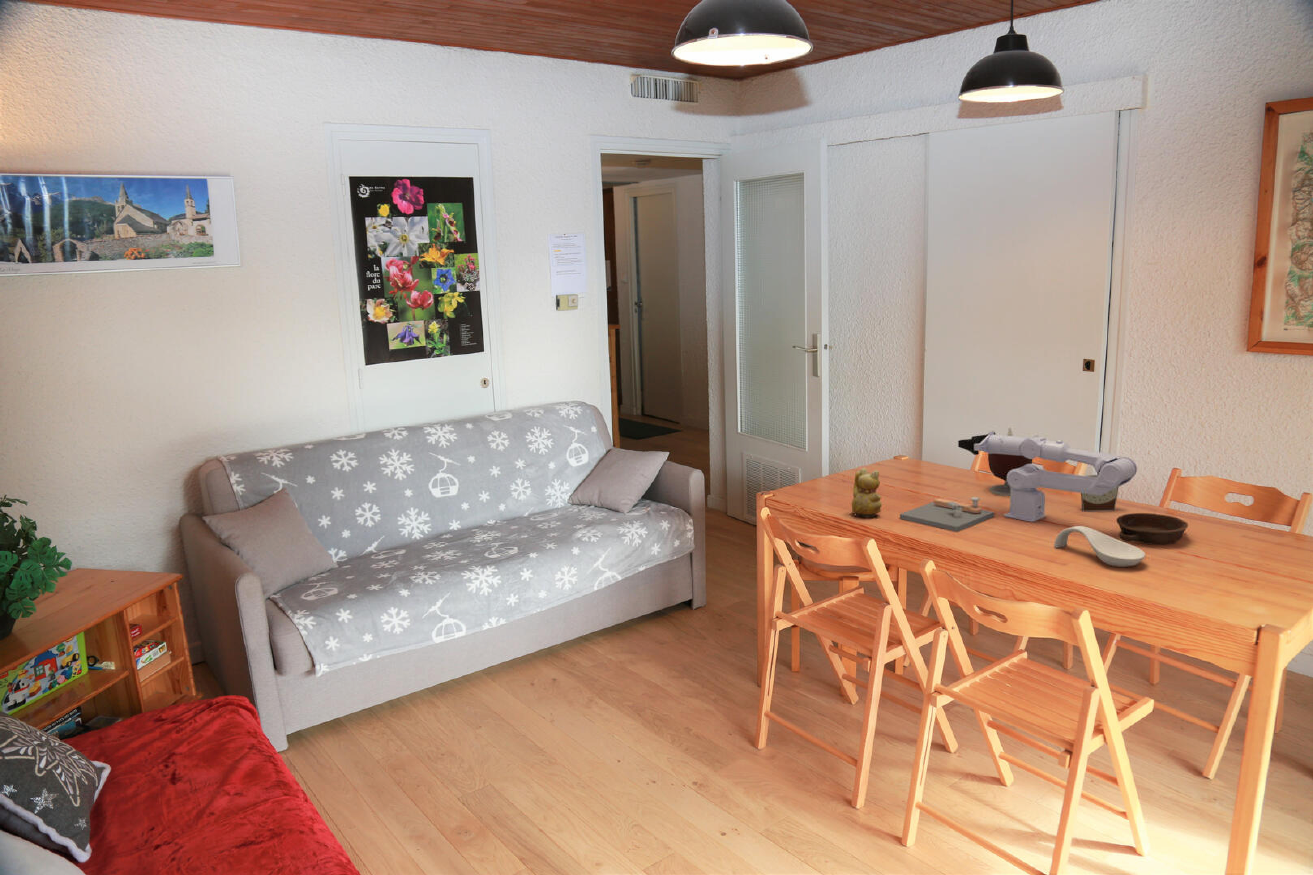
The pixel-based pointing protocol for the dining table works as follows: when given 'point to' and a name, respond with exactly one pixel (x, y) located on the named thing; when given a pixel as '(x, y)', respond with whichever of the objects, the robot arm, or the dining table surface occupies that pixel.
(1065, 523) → the dining table surface
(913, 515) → the board
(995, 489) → the mate gourd
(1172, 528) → the dish
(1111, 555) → the spoon rest
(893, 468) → the dining table surface
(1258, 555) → the dining table surface
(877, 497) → the decorative figurine
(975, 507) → the link
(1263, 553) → the dining table surface
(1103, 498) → the food container
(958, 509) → the keeper
